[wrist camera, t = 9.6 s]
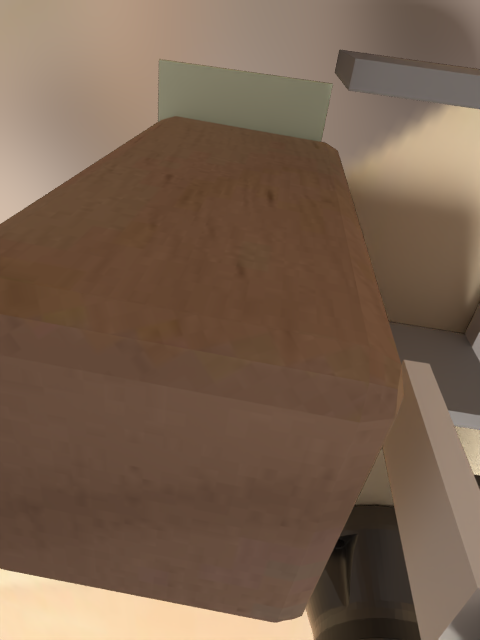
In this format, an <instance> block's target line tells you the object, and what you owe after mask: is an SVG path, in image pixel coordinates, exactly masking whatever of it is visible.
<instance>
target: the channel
mask: <svg viewBox="0 0 480 640" xmlns="http://www.w3.org/2000/svg"><path fill="white" fill-rule="evenodd" d="M335 73H336V75H337V76H338V77H339V79H340V80H341V81H342V83H343V84H344V85H345V87H346V88H347V89H348V90H349V91H355V92H363V93H369V94H377V95H384V96H391V97H398V98H405V99H412V100H419V101H426V102H433V103H440V104H447V105H454V106H461V107H468V108H475V109H480V69H475V68H468V67H461V66H453V65H446V64H439V63H432V62H424V61H417V60H410V59H403V58H395V57H388V56H381V55H374V54H367V53H359V52H352V51H345V50H339V55H338V60H337V64H336V69H335ZM389 325H390V328H391V331H392V335H393V338H394V341H395V345H396V348H397V351H398V355H399V358H400V362H401V365H402V363H403V360H409V361H415V362H422V363H428V364H430V366H431V369H432V371H433V374H434V376H435V379H436V381H437V384H438V386H439V389H440V391H441V394H442V396H443V399H444V401H445V404H446V407H447V409H448V412H449V414H450V417H451V419H452V422H453V424H454V426H459V427H465V428H471V429H477V430H480V361H479V359H478V358H477V356H476V354H475V352H474V350H473V348H472V346H471V344H470V343H469V341H468V339H467V337H466V335H465V334H463V333H456V332H450V331H444V330H437V329H431V328H425V327H418V326H412V325H406V324H400V323H393V322H389Z"/></svg>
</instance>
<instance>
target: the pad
mask: <svg viewBox="0 0 480 640" xmlns="http://www.w3.org/2000/svg"><path fill="white" fill-rule="evenodd" d="M332 86H333V84H332V83H325V82H318V81H311V80H304V79H296V78H290V77H282V76H275V75H268V74H261V73H254V72H247V71H239V70H233V69H226V68H218V67H212V66H204V65H197V64H190V63H183V62H176V61H169V60H161V59H160V60H159V90H158V91H159V93H158V95H159V96H158V122H159V121H160V120H162V119H166V118H170V117H173V116H178V117H184V118H189V119H195V120H200V121H206V122H212V123H217V124H223V125H229V126H234V127H240V128H246V129H251V130H257V131H263V132H268V133H274V134H279V135H285V136H291V137H296V138H302V139H308V140H313V141H319V142H321V140H322V135H323V130H324V125H325V120H326V115H327V110H328V106H329V101H330V96H331V91H332Z"/></svg>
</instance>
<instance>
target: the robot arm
mask: <svg viewBox="0 0 480 640" xmlns="http://www.w3.org/2000/svg"><path fill="white" fill-rule="evenodd" d="M402 376H403V389H404V397H403V399H402V402H401V405H400V408H399V410H398V413H397V416H396V419H395V421H394V423H393V425H392V427H391V429H390V431H389V433H388V435H387V437H386V440H385V442H384V444H383V446H382V448H383V453H384V458H385V463H386V468H387V473H388V478H389V483H390V488H391V493H392V498H393V503H394V508H393V507H385V506H356V507H353V509H352V511H351V513H350V515H349V517H348V519H347V522H346V524H345V526H344V528H343V530H342V532H341V534H340V536H339V538H338V541H337V543H336V545H335V547H334V549H333V551H332V553H331V555H330V557H329V559H328V562H327V564H326V566H325V568H324V570H323V572H322V574H321V576H320V578H319V580H318V583H317V585H316V587H315V589H314V591H313V593H312V595H311V597H310V599H309V602H308V604H307V606H306V611H307V615H308V618H309V621H310V625H311V628H312V631H313V636H314V640H480V476H479V475H474V474H473V472H472V469H471V467H470V464H469V462H468V459H467V457H466V454H465V452H464V449H463V447H462V444H461V442H460V439H459V437H458V434H457V432H456V429H455V427H454V424H453V422H452V419H451V417H450V414H449V412H448V409H447V407H446V404H445V401H444V399H443V396H442V394H441V391H440V389H439V386H438V384H437V381H436V379H435V376H434V374H433V371H432V369H431V366H430V364H428V363H422V362H415V361H409V360H403V363H402Z"/></svg>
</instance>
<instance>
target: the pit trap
mask: <svg viewBox="0 0 480 640" xmlns="http://www.w3.org/2000/svg"><path fill="white" fill-rule="evenodd" d="M465 335H466V337H467V339H468V341H469V343H470V344H471V346H472V348H473V350H474V352H475V354H476V356H477V358H478V359H479V361H480V303H479V305H478V307H477V309H476V312H475V314H474V316H473V318H472V320H471V322H470V324H469V326H468V328H467V330H466V332H465Z"/></svg>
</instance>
